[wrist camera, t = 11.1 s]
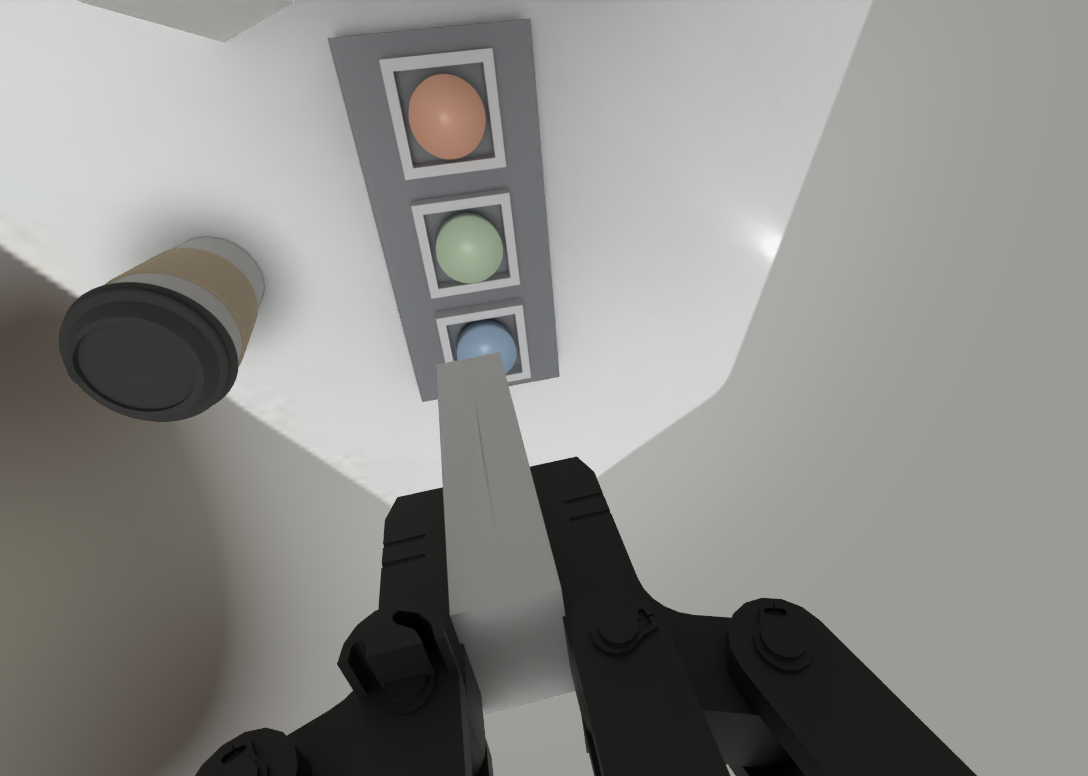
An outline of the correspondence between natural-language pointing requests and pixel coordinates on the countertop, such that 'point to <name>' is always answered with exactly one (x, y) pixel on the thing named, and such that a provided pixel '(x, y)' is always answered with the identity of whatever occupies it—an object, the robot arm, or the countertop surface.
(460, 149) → the button terracotta
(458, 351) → the button slate
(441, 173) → the panel
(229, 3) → the milk
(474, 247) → the button sage
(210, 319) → the coffee cup
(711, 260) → the countertop surface
